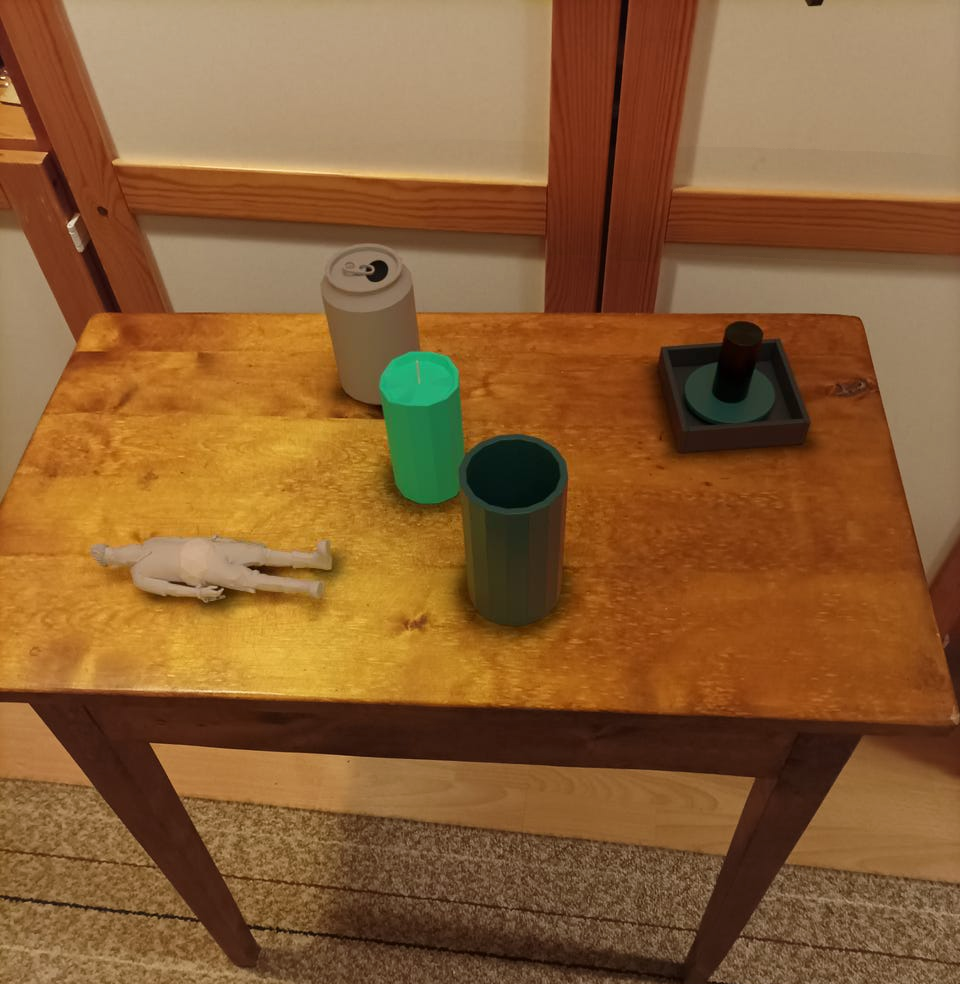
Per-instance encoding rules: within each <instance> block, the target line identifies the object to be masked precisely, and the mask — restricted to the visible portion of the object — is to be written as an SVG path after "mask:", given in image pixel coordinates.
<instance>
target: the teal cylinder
mask: <svg viewBox="0 0 960 984" xmlns="http://www.w3.org/2000/svg"><path fill="white" fill-rule="evenodd" d="M459 485H460V491H459V496H460V508H461V509H460V510H461V519H462V532H463V545H464V559H465V568H466V579H467V580H466V581H467V593H468V597H469V600H470V602H471V605H472V606H473V607H474V609H475V610H476V612H478V614H480V615H481V616H482V617H484V618H485V619H487V620H488V621H490V622H493V623H496V624H498V625H503V626H509V627H519V626H527V625H530V624H533V623H536V622H538V621H540V620H542V619H543V618H545V617H547V615H549V614H550V613H551V612H552V610H554V609H555V607H556V605H557V604H558V601H559V599H560V596H561V591H562V587H563V585H562V584H563V572H564V571H563V570H564V553H565V537H566V521H567V520H566V519H567V506H568V505H567V503H568V490H569V489H568V488H569V473H568V466H567V461H566V459H565V458H564V457H563V455H562V454H561V453H560V452H559V450H558V449H557V448H556V447H555V446H553V445H552V444H550V443H548V442H547V441H545V440H544V439H542V438H540V437H536V436H532V435H528V434H522V433H509V434H499V435H495V436H492V437H490V438H487V439H485V440H482V441H480V442H478V443H477V444H476V445H474V447H473V448H471V449H470V450H469V451H468V452H466V453H465V457H464V459H463V461H462V463H461V465H460V467H459Z"/></svg>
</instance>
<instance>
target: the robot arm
mask: <svg viewBox="0 0 960 984" xmlns="http://www.w3.org/2000/svg"><path fill="white" fill-rule="evenodd" d="M804 1H805V3H806V5H807V6H808V7H821V6H822V5H823V3H824V0H804Z"/></svg>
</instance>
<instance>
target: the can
mask: <svg viewBox="0 0 960 984" xmlns="http://www.w3.org/2000/svg"><path fill="white" fill-rule="evenodd" d="M413 282H414V281H413V275H412V272H411V271H410V269H409V268H408V267H407V265H405V264H404V263H403V258H402V257H401V256H400V254H399V253H398V252H397V251H395V250H394V249H392V248H391V247H389V246H386V245H383V244H379V243H368V242H366V243H357V244H354V245H353V244H352V245H350V246H347V247H344V248H343V249H342V248H341V249H340V250H339V251H337V252H336V253H334V254H333V255H332V256H331V257H330V258H329V259H328V260H327V262H326V265H325V266H324V275H323V277H322V280H321V281H320V295H321V299H322V304H323V308H324V309H323V310H324V314H325V317H326V322H327V327H328V331H329V336H330V340H331V346H332V350H333V355H334V360H335V365H336V369H337V373H338V378H339V382H340V383H339V384H340V386H341V387H342V390H343V391H344V392H345V394H347V395H349V396H350V397H351V398H352V399H354V400H357V401H359V402H362V403H366V404H368V405H373V406H382V401H381V396H380V390H379V384H380V379H381V375H382V374H383V372H384V371H385V369H386V368H387V366H388V365H389V363H390V362H391V361H392V360H393V359H395V358H397V357H399V356H402V355H404V354H406V353H408V352H422V351H421V342H420V333H419V324H418V317H417V307H416V299H415V291H414V283H413Z"/></svg>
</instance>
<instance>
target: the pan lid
mask: <svg viewBox="0 0 960 984" xmlns="http://www.w3.org/2000/svg"><path fill="white" fill-rule="evenodd" d="M763 339H764V331H763V330H762V328H761V326H758V325H757V324H756V323H754V322H751V321H747V320H738V321H734V322H731V323H730V324H728V325H727V326H726V327H725V329H724V333H723V339H722V347H721V351H720V355H719V360H718V362H716V363H711V364H707V365H704V366H702V367H700V368H698V369H697V370H695V371H694V372H693V373H692V374H691V375H690V376H689V377H688V379H687V381H686V383H685V388H684V398H685V401H686V404H687V405H688V407H689V408H690V409H691V411H692V412H693V413H694V414H696V415H697V416H698V417H700V418H701V419H703V420H705V421H707V422H710V423H713V424H716V425H719V424H734V423H748V422H758V421H760V420H762V419H763V418H764V417H766V416H767V415H768V414H769V412H770V411H771V409H772V407H773V404H774V401H775V391H774V388H773V385H772V383H771V382H770V380H769V379H768V378H767V377H766V376H765V375H764V374H762V373H761V372H759V371H758V370H756V369H754V368H755V365H756V361H757V357H758V354H759V350H760V346H761V342H762V340H763Z"/></svg>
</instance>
